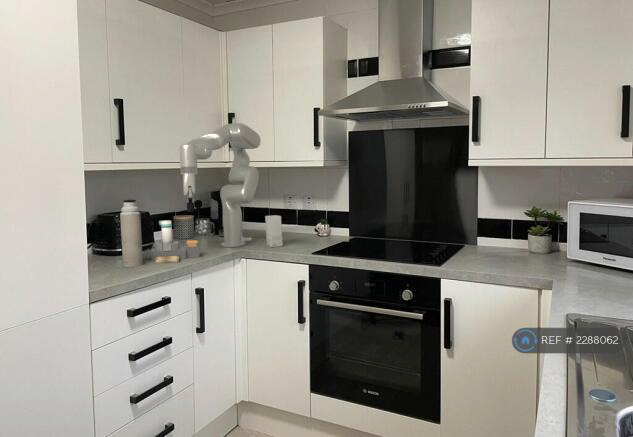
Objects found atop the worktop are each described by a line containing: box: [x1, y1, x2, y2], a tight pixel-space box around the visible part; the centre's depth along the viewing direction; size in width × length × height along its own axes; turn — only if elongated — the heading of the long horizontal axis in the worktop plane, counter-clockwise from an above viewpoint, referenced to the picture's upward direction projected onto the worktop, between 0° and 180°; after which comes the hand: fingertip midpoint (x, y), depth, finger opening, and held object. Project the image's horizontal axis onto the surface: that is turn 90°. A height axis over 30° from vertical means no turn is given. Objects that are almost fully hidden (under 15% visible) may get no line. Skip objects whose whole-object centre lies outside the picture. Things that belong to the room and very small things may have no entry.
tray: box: [154, 256, 180, 265], centre depth 223 cm, size 10×8×2 cm
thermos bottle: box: [119, 199, 144, 268], centre depth 215 cm, size 8×8×28 cm
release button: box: [186, 239, 198, 247], centre depth 234 cm, size 5×5×6 cm
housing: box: [150, 240, 200, 261], centre depth 232 cm, size 21×10×7 cm, turn 104°
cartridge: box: [158, 219, 173, 244], centre depth 231 cm, size 5×5×13 cm
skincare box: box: [264, 214, 284, 248], centre depth 260 cm, size 8×7×16 cm
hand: (190, 210), depth 232 cm, fingers open, 2 cm apart
